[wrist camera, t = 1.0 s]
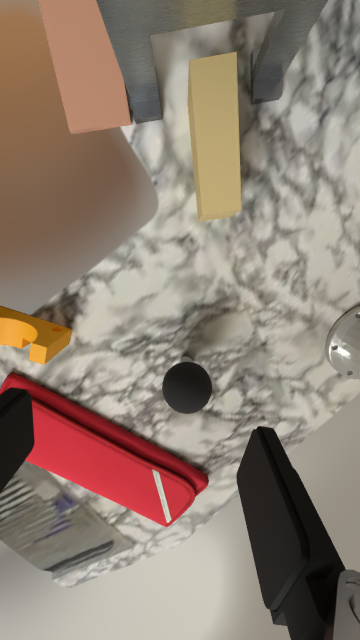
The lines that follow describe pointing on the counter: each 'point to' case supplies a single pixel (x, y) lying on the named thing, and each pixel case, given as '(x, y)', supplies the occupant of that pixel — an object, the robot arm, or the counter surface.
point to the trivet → (85, 65)
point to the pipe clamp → (32, 334)
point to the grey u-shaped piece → (195, 10)
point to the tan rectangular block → (215, 135)
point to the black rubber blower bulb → (187, 386)
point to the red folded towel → (108, 457)
